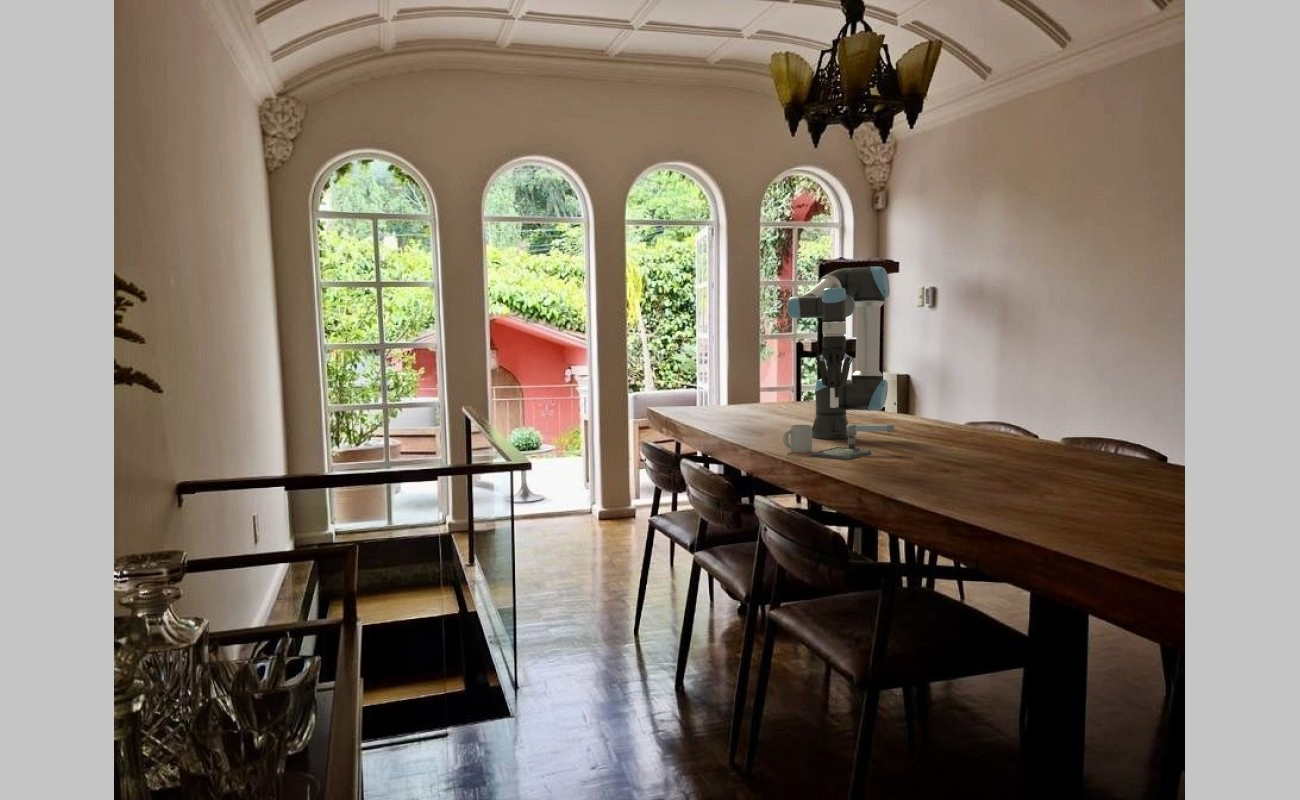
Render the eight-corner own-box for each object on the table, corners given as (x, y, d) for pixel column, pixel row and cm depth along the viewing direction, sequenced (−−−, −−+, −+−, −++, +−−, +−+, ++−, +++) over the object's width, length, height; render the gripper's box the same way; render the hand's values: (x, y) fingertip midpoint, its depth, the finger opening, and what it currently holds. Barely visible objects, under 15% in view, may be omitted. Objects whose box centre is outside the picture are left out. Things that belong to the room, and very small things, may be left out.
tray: (837, 449, 281) (837, 434, 280) (871, 453, 272) (871, 437, 271) (811, 455, 269) (811, 439, 268) (846, 459, 260) (846, 442, 259)
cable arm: (846, 435, 273) (846, 425, 273) (846, 434, 276) (846, 423, 276) (893, 435, 270) (893, 425, 269) (893, 434, 273) (893, 424, 273)
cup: (814, 452, 276) (814, 426, 275) (786, 453, 275) (786, 427, 274) (808, 449, 283) (808, 424, 282) (780, 450, 282) (780, 425, 281)
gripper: (810, 335, 265) (811, 407, 267) (845, 335, 256) (845, 409, 258) (823, 335, 270) (823, 405, 273) (857, 335, 261) (857, 407, 264)
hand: (834, 407), depth 265 cm, fingers closed
